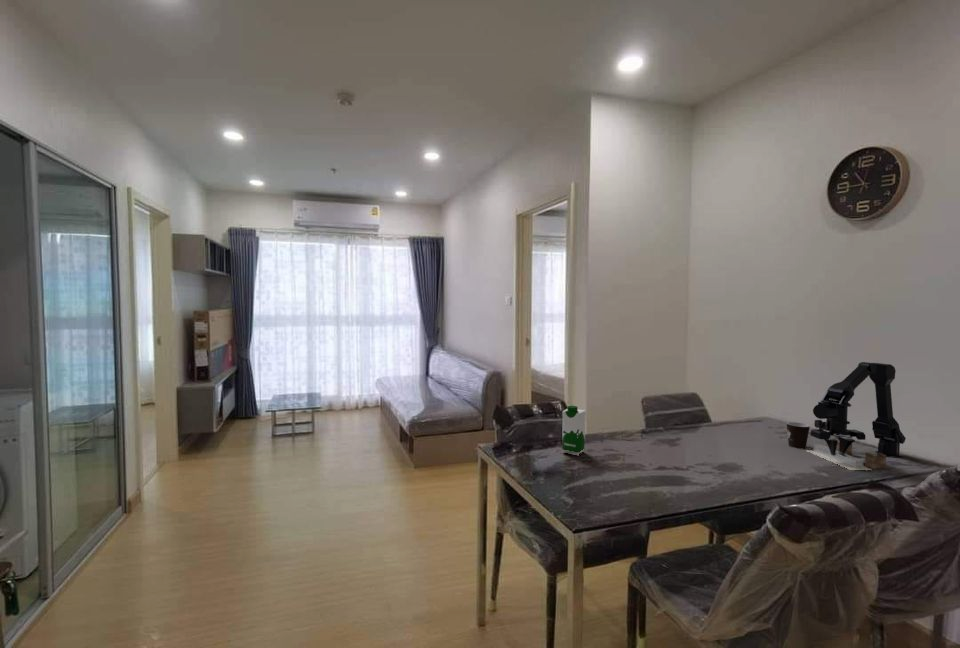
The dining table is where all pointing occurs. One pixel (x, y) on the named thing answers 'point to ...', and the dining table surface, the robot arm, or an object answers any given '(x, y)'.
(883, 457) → the post
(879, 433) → the robot arm
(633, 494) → the dining table surface
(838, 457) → the rail
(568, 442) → the milk carton
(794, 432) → the coffee mug
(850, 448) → the post
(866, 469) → the mat
